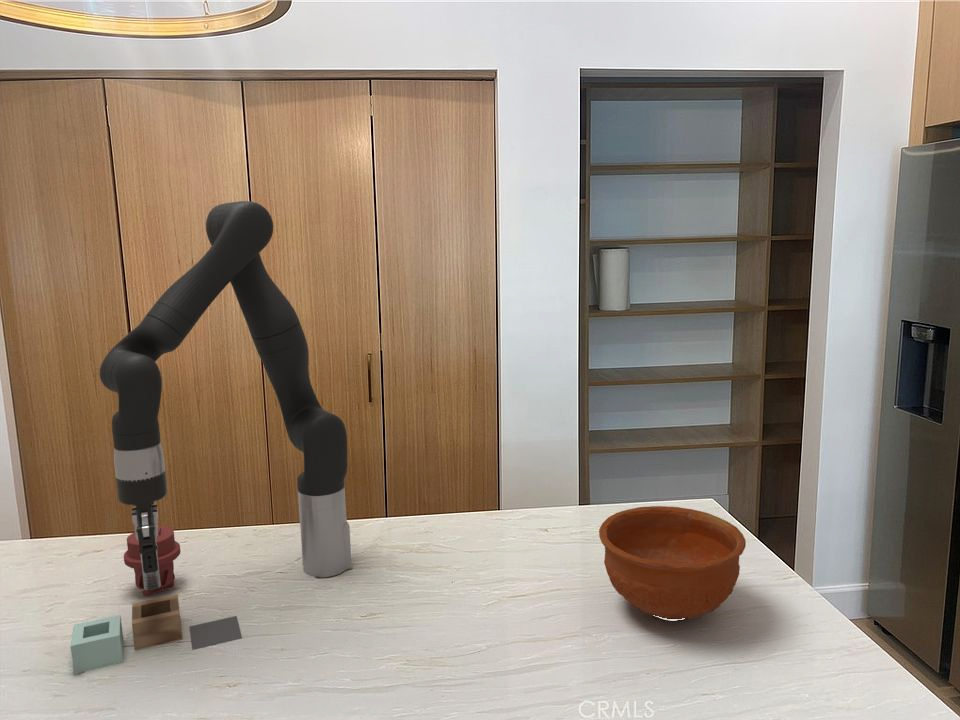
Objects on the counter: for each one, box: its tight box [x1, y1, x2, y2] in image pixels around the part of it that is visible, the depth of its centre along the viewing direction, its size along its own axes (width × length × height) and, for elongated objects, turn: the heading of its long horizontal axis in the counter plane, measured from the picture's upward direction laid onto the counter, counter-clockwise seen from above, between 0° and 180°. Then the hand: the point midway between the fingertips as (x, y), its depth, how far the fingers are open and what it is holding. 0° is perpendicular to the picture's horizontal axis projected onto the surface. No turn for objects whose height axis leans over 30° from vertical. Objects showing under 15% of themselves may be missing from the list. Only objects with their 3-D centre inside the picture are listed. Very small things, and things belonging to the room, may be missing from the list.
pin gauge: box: [138, 524, 161, 591], centre depth 126 cm, size 3×3×11 cm
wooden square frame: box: [131, 593, 183, 651], centre depth 128 cm, size 7×7×5 cm
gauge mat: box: [188, 615, 243, 651], centre depth 129 cm, size 8×8×1 cm
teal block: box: [69, 614, 125, 675], centre depth 122 cm, size 7×7×5 cm
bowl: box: [598, 505, 747, 620], centre depth 132 cm, size 25×25×15 cm
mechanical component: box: [123, 525, 182, 597], centre depth 144 cm, size 12×10×10 cm
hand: (150, 567), depth 126 cm, fingers closed on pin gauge, 2 cm apart
